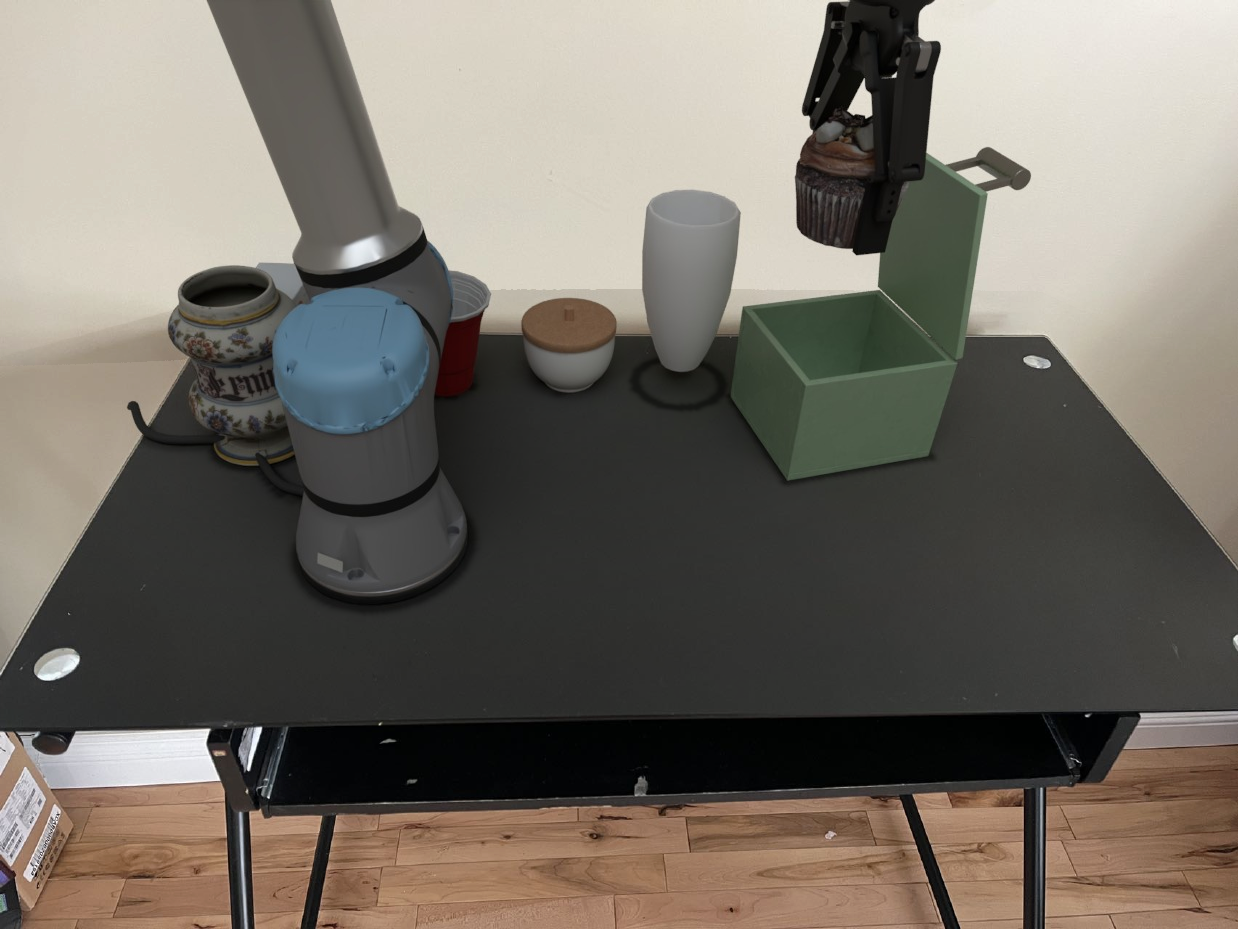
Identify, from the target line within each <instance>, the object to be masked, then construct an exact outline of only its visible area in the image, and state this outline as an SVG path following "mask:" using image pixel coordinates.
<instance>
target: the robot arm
mask: <svg viewBox="0 0 1238 929" xmlns="http://www.w3.org/2000/svg"><path fill="white" fill-rule="evenodd" d="M935 1H936V0H847V1H829V2H828V3H827V5H826V9H825V16H824V17H825V18H824V25H823V33H822V35H821V39H820V42H819V43H820V44H819V47H818V50H817V53H816V58H815V60H814V63H813V66H812V70H811V74H810V77H809V82H808V84H807V89H806V91H805V94H804V98H803V102H802V104H801V105H802V106H801V113H802V116H803V117H809V122H808V123H809V125H808V126H809V129H810V130H811V131H812V133H811V135H812V134H813V133H814V132H816V131H817V129H818V128H819V127H821V126H822V125H823V124H824V123H825V122H827V121H828V118H830V117H832V112H833V111H834V110H835V108H836V109H838V108H840V107H841V106H842V107H843V109H845V110H846V111H848V110H849V108H850V107H851V105H852V103H853V100H854V99H855V97H856V95H857V93H858V91H859V89H860V88H861V86H862V83H863V82H864V88H865V91H866V92H868V93H869V94H870V97H871V98H870V99H871V115H872V121H873V142H874V162H875V174H873V175H869V176H867V183H866V188H865V192H864V197H863V202H862V207H861V212H860V217H859V221H858V226H857V231H856V236H855V241H854V246H853V249H852V250H851V252H852V253H853V254H854V255H855V256H857V257H858V256H865V255H874V254H875V255H876V254H880V253H885V251H886V246H887V242H888V238H889V234H890V229H891V225H892V221H893V219H894V217H895V215H896V210H897V209H896V208H897V206H898V202H899V198H900V193H901V189H902V185H903V183H904V182H909V181H919V180H922V179H923V177H924V173H925V163H926V153H928V152H927V150H928V142H929V129H930V118H931V107H932V99H933V88H934V76H935V73H936V68H937V66H938V62H939V59H940V56H941V51H942V45H941V42H940V41H939V40H924V39H923V38H922V37H921V36H919V35H920V32H919V28H920V27H919V26H920V25H919V23H920V22H919V21H920V20H919V19H920V13H921V11H922V10H923V9H924V8H925V7H926V6H929V5H931V4H933V3H935ZM206 2H207V5H208V8H209V10H210V12H211V15H212V17H213V20H214V22H215V24H216V27H217V30H218V32H219V34H220V37H221V39H222V42H223V44H224V47H225V49H226V52H227V54H228V57H229V59H230V62H231V64H232V66H233V68H234V71H235V74H236V76H237V78H238V81H239V84H240V86H241V89H242V91H243V93H244V96H245V99H246V101H247V104H248V106H249V108H250V111H251V113H252V115H253V118H254V120H255V123H256V126H257V128H258V131H259V133H260V135H261V137H262V140H263V142H264V145H265V147H266V150H267V153H268V155H269V157H270V159H271V162H272V166H273V167H274V169H275V172H276V174H277V177H278V179H279V182H280V185H281V186H282V189H283V192H284V194H285V197H286V199H287V201H288V204H289V206H290V208H291V211H292V214H293V216H294V218H295V221H296V223H297V226H298V228H299V231H300V237H299V239H298V241H297V242H296V245H295V246H294V249H293V251H292V253H291V256H292V261H293V264H295V266H296V269H297V271H298V274H299V276H300V279H301V281H302V283H303V286H304V288H305V290H306V293H307V295H308V298H309V300H310V304H308V305H306V304H300V305H298V306H297V307H296V308H294V309H293V310H292V311H291V312H290V313H289V314H288V315H287V316H286V317H285V318H284V319H283V321H282V322H281V323H280V325H279V327H278V329H277V331H276V333H275V336H274V340H273V347H272V353H273V361H274V364H273V372H274V376H275V386H276V389H277V391H278V395H279V396H280V398H281V402H282V405H283V409H284V413H285V417H286V421H287V425H288V429H289V433H290V437H291V441H292V445H293V449H294V453H295V455H294V456H295V461H296V465H297V468H298V473H299V476H300V479H301V483H302V485H298V484H293V483H291V482H287V481H286V480H284V479H283V478H282V477H281V476H279V475H278V474H277V472H276V471H275V470H274V468H273V467H272V466H271V464H269V462H268V461H267V459H266V458H265V457H264V456H263V455H261V454H259V453H256V454H255V456H256V460H257V463H258V465H259V466H258V467H259V468H260V470H261V471H262V473H263V474H264V475H265V477H266V478H267V479H268V481H269V482H270V483H271V484H273V486H275V487H276V488H278V489H279V490H281V491H283V492H285V493H287V494H291V495H296V496H301V497H302V500H301V505H300V510H299V516H298V522H297V527H296V532H295V550H296V554H297V560H298V563H299V567H300V569H301V572H302V574H303V575H304V577H305V579H306V581H308V583H309V584H311V586H313V588H315V589H316V590H318V591H319V592H321V594H324V595H326V596H328V597H330V598H333V599H335V600H338V601H341V602H346V603H351V604H361V605H382V604H388V603H389V604H390V603H394V602H399V601H403V600H406V599H409V598H412V597H415V596H418V595H420V594H422V593H425V592H426V591H428V590H430V589H432V588H435V587H436V586H437V585H439V584H440V583H441V582H443V581H444V580H446V579H447V577H449V576H450V575H451V574H452V573H453V572H454V571H455V569H456V568H458V565H459V564H461V561H462V559H463V558H464V556H465V554H466V551H467V547H468V542H469V533H468V523H467V518H466V517H467V516H466V513H465V511H464V508H463V505H462V503H461V501H460V500H459V498H458V496H457V494H456V493H455V491H454V489H453V487H452V486H451V484H450V482H449V480H448V479H447V477H446V475H445V473H444V471H443V470H442V468H441V463H440V455H439V445H438V437H437V428H436V427H437V426H436V418H435V395H434V394H435V388H436V383H437V377H438V372H439V367H440V362H441V356H442V351H443V346H444V341H445V336H446V331H447V329H448V326H449V323H450V320H451V317H452V311H453V305H452V304H453V288H452V282H451V277H450V273H449V270H450V269H449V268H448V266H447V263H446V261H445V259H444V257H443V256H442V254H441V253H440V252H439V250H438V249H437V248H436V247H435V245H433V243H431V242H430V241H429V240H428V238H427V234H426V232H425V228H424V225H423V223H422V220H421V219H420V217H419V216H418V215H417V214H415V213H413V212H411V210H408V209H406V208H404V207H402V206H400V205H399V204H398V201H397V198H396V194H395V191H394V188H393V185H392V182H391V179H390V176H389V173H388V170H387V167H386V164H385V161H384V158H383V154H382V152H381V148H380V146H379V143H378V140H377V136H376V134H375V131H374V127H373V124H372V121H371V119H370V115H369V113H368V108H367V106H366V103H365V100H364V97H363V94H362V90H361V88H360V85H359V82H358V79H357V76H356V73H355V69H354V66H353V64H352V61H351V57H350V54H349V51H348V48H347V45H346V42H345V39H344V36H343V33H342V29H341V27H340V24H339V21H338V17H337V14H336V12H335V9H334V4H333V3H332V0H206ZM895 74H896V75H895ZM894 75H895V77H893V76H894ZM817 99H818V100H817ZM888 162H889V166H888ZM910 164H911V165H910ZM126 409H127V410H128V411H130V412H131V417H132V420H133V422H134V424H135V427H136V428H137V430H138V431H139V432H140V433H141V434H142V435H143V436H144V437H146V438H148V439H149V440H152V441H155V442H158V443H162V444H168V445H211V444H212V445H214V443H216V442H218V441H221V440H224V439H225V436H222V435H216V434H193V435H189V434H188V435H187V434H186V435H177V434H176V435H175V434H165V433H161V432H158V431H155V430H153V429H151V427H150V426H148V424H147V422H146V421H145V419H144V417H143V414H142V411H141V407H140V405H139V403H138V401H136V400H130V401H129V402H128V403H127V405H126Z"/></svg>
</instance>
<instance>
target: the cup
mask: <svg viewBox="0 0 1238 929" xmlns="http://www.w3.org/2000/svg"><path fill="white" fill-rule="evenodd" d="M741 214H742V212H741V210H740V209H739V207H738V206H737V204H736V202H735V201H733V200H731V199H730V198H728V197H726V196H725V195H722V194H718V193H715V192H713V191H707V190H700V189H699V190H698V189H675V190H670V191H664V192H662V193H659V194H658V195H656V196H654V197H652V198H651V199H650V201H648V204H647V206H646V210H645V219H644V229H643V238H642V239H643V240H642V249H641V250H642V251H641V252H642V254H641V255H642V256H641V258H642V260H641V261H642V262H641V264H642V265H641V285H642V286H641V291H642V297H643V303H644V308H645V315H646V322H647V327H648V329H649V333H650V337H651V340H652V343H653V347H654V349H655V352H656V355H657V357H658V360H659V362H660V364H661V365H662V367H664V368H665V369H668V370H670V371H673V372H678V373H684V372H685V373H686V372H690V371H693V370H695V369H697V368H698V367H699V366H700V365H701V363H702V362H703V360H704V358H705V357H706V355H707V354H708V352H709V350H710V348H711V346H712V344H713V341H714V340H715V338H716V336H717V334H718V332H719V331H718V330H719V328H720V325H721V322H722V320H723V316H724V313H725V311H726V308H727V305H728V302H729V299H730V296H731V292H732V287H733V281H734V274H735V270H736V264H737V259H738V250H739V249H738V248H739V237H740V227H741V226H740V225H741Z"/></svg>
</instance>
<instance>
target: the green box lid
mask: <svg viewBox="0 0 1238 929" xmlns="http://www.w3.org/2000/svg"><path fill="white" fill-rule="evenodd" d="M910 165H911V164H910ZM976 167H978V168H980V169H981V170H982V171H984V172H986V173H987V174H989V175H991V177H994V179H990V180H987V181H982V182H979V183H975V184H974V183H973V182H972V181H971V180H969V179H967V178H966V177H964V176H962V175H961V174H959V173H958V172H960V171H965V170H968V169H973V168H976ZM1031 178H1032V172H1031V171H1030V170H1029V169H1028V168H1026V167H1024V166H1022V165H1021V164H1019V163H1017V162H1016V161H1014V160H1012V159H1011V158H1009V157H1007V156H1006V155H1004V154H1002V153H1001V152H999V151H997V150H995V149H994V148H992V147H990V146H985V147H983V148H981V149H980V150H979V151H978V152H977V153H976V155H975V156H974V157H970V158H966V159H961V160H959V161H954V162H951V163H946V164H944V163H943V162H942V161H940V160H938V159H937V158H936V157H934V156H932V155H931V154H929V153H928V152H926V163H925V173H924V177H923V179H922V180H919V181H909V183H908V184H909V185H908V189H907V191H906V193H905V195H904V197H903V199H902V201H901V203H900V205H899V208H898V210H897V212H896V215H895V217H894V219H893V221H892V225H891V229H890V234H889V238H888V242H887V246H886V251H885V253H879V261H878V262H879V264H878V277H877V288H879V290H880V291H881V292H882V293H883V294H884V295H886V296H887V297H888V298H889V299H890V300H891V301H892V302H893V303H894V304H895V305H896V306H897V307H898V308H899V309H900V310H901V311H903V312H904V313H905V314H906V315H907V316H908V317H909V318H910V319H911V320H912V321H913V322H914V323H915V324H916V325H917V326H919V327H920V328H921V329H922V330H923V331H924V332H925V333H926V334H927V335H928V336H929V337H930V338H931V339H932V340H933V341H934V342H936V343H937V344H938V345H939V346H940V347H941V348H942V349H943V350H944V351H945V352H946V353H947V354H948V355H949V356H950V357H951V358H953V360H955V361H956V360H960V359H963V357H964V351H965V345H966V338H967V331H968V325H969V319H970V318H969V317H970V313H971V312H970V311H971V305H972V299H973V294H974V293H973V292H974V286H975V280H976V279H975V278H976V273H977V266H978V261H979V260H978V259H979V252H980V248H981V242H982V240H981V239H982V233H983V228H984V220H985V214H986V208H987V201H988V195H989V193H988V192H990V191H995V190H998V189H1003V188H1005V187H1009V188H1011V189H1013V190H1014V191H1021V190H1023V189H1024V188H1026V187H1027V186H1028V185H1029V183H1030V181H1031Z"/></svg>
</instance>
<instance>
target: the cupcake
mask: <svg viewBox="0 0 1238 929" xmlns="http://www.w3.org/2000/svg"><path fill="white" fill-rule="evenodd" d="M812 133H813V132H812ZM812 133H811V134H810V135H809V136H808V137H807V138H806V140H805V141H804V143H803V144H802V146H801V149H800V153H799V159H798V160H797V162H796V165H795V176H794V183H795V215H796V216H795V217H796V218H795V219H796V220H795V221H796V222H795V223H796V228H797V229H798V231H799V233H800V234H801V235H802V236H804V237H805V238H807V239H808V240H810V241H812V242H815V243H817V244H819V245H822V246H826V247H832V248H836V249H842V250H843V249H844V250H853V246H854V241H855V236H856V231H857V226H858V221H859V217H860V212H861V207H862V202H863V197H864V192H865V188H866V183H867V176H869V175H873V174H875V162H874V142H873V121H872V114H871V115H870V116H868V117H866V115H864V114H858V113H854V114H853V113H851V112H850V111H848V110H847V111H846V110H845V109H843V107H842V106H841V107H840V108H838V109H836V108H835V110H834V111H833V112H832V117H830V118H828V121H827V122H825V123H824V124H823V125H822V126H821V127H819V128H818V129H817V131H816V132H814V133H813V134H812ZM888 166H889V162H888ZM908 183H909V182H904V183H903V185H902V189H901V193H900V198H899V202H898V206H897V208H896V209H897V210H898V208H899V205H900V203H901V201H902V199H903V197H904V195H905V193H906V191H907V189H908V185H909V184H908ZM897 210H896V212H897Z"/></svg>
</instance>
